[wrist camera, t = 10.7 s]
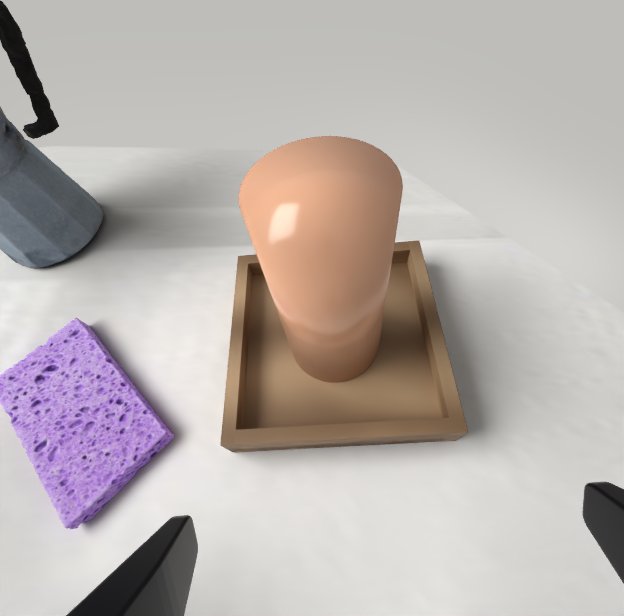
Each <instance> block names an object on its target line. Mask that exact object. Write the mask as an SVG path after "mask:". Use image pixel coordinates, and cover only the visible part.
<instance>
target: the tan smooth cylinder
mask: <svg viewBox="0 0 624 616" xmlns="http://www.w3.org/2000/svg"><path fill="white" fill-rule="evenodd" d="M402 189H403V185H402V178H401V174H400V172H399V170H398V168H397V166H396V164H395V163H394V162H393V160H392V159H391V158H390V157H389V156H388V155H387V154H385V153H384V152H383V151H381V150H380V149H378V148H376V147H374V146H373V145H370V144H368V143H366V142H363V141H360V140H356V139H351V138H346V137H337V136H323V137H313V138H306V139H302V140H298V141H294V142H291V143H288V144H286V145H283V146H281V147H279V148H277V149H275V150H273V151H271V152H270V153H268V154H266V155H265V156H264V157H262V158H261V159H260V160H259V161H258V162H257V163H255V164H254V165H253V166H252V168H251V169H250V170H249V171H248V173H247V174H246V176H245V177H244V179H243V182H242V184H241V187H240V191H239V206H240V209H241V213H242V215H243V218H244V221H245V224H246V226H247V229H248V232H249V235H250V237H251V240H252V243H253V246H254V249H255V251H256V254H257V257H258V260H259V262H260V265H261V268H262V271H263V273H264V276H265V279H266V282H267V284H268V287H269V290H270V293H271V295H272V298H273V301H274V304H275V306H276V309H277V312H278V315H279V317H280V320H281V323H282V326H283V328H284V331H285V334H286V337H287V339H288V342H289V345H290V348H291V351H292V353H293V356H294V358H295V360H296V362H297V364H298V365H299V367H300V368H301V369H302V370H303V371H304V372H306V373H307V374H308V375H310V376H311V377H313V378H315V379H318V380H321V381H325V382H334V383H336V382H344V381H348V380H351V379H354V378H356V377H358V376H360V375H361V374H362V373H364V372H365V371H366V370H367V369H368V368H369V367H370V366H371V365H372V363H373V362H374V360H375V358H376V356H377V353H378V349H379V342H380V336H381V329H382V322H383V316H384V309H385V303H386V296H387V289H388V283H389V276H390V270H391V263H392V256H393V250H394V243H395V236H396V230H397V223H398V217H399V210H400V203H401V197H402Z"/></svg>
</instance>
